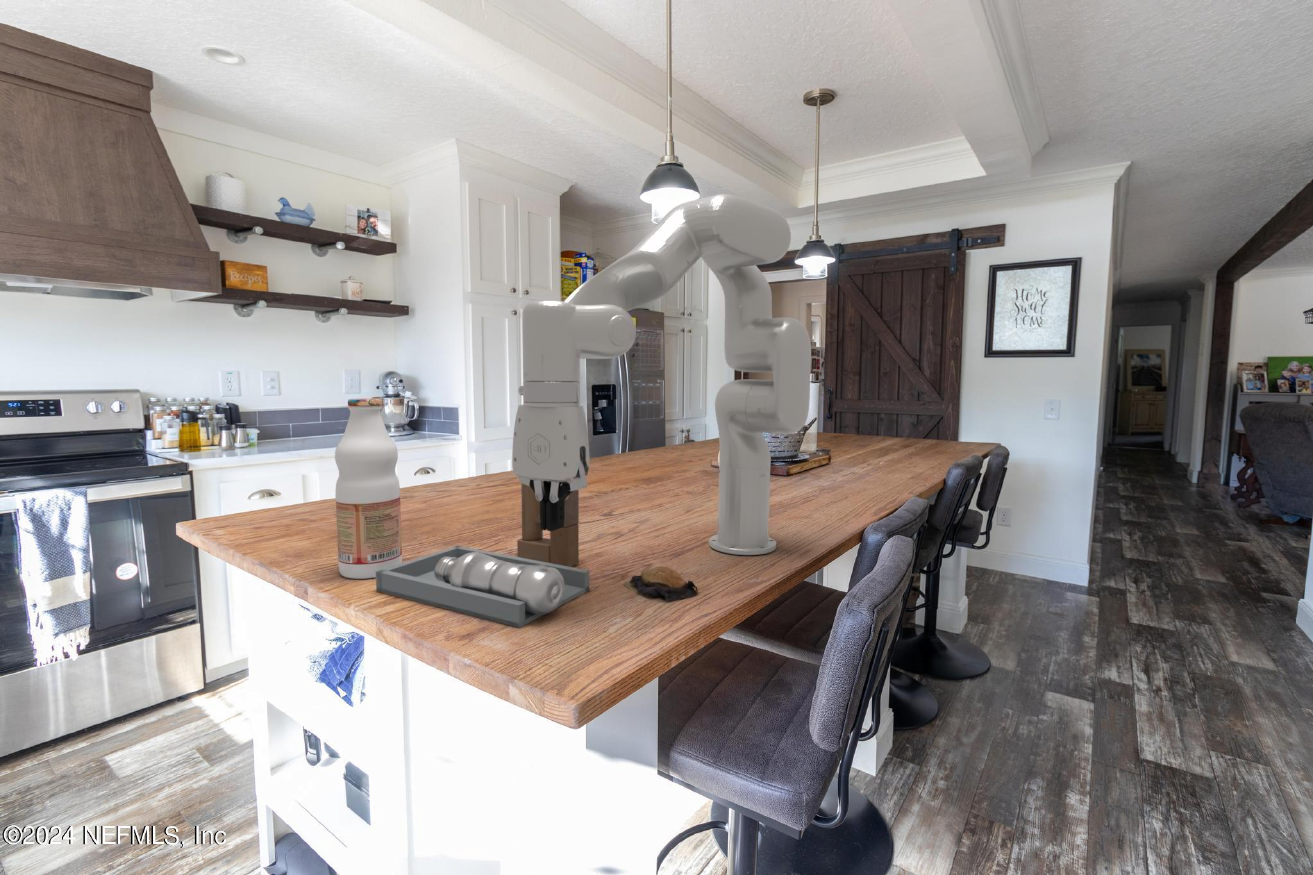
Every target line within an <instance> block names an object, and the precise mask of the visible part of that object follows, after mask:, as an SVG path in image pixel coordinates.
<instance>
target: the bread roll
mask: <svg viewBox="0 0 1313 875" xmlns="http://www.w3.org/2000/svg"><path fill="white" fill-rule="evenodd" d="M623 586H624V587H626V588H627V589H629V590H631V591H633V592H635V593H637V594H638V595H641V596H644V598H645V597H646V598H648V599H650V600H652V601H656V602H658V603H661V604H666V605H667V604H671V603H675V602H678V601H682V600H686V599H687V600H688V599H691V598H694V597H696V596H697V595H698V594H699V590H698V586H696V585H695V583H694V582H693V581H692V580H686V579H685V578H684V577H683V576H682V575H681V574H680V573H679V572H678V571H676V570H675V569H673V568H672V567H671V568H670V567H667V566H663V565H662V566H661V565H659V566H655V567H652V568H648V569H645V570H644V571H642V572H641V574H639V575H633V576H631V578H630V581H627V582H624V583H623Z"/></svg>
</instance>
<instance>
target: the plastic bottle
mask: <svg viewBox="0 0 1313 875" xmlns="http://www.w3.org/2000/svg"><path fill="white" fill-rule="evenodd" d="M434 574H435V577H436V579H437V580H439V581H442V582H445V583H448V584H451V585H452V586H456V587H461V588H465V589H470V590H474V591H478V592H483V593H487V594H491V595H496V596H500V597H504V598H509V599H513V600H517V601H522V602H525V611H527V612H529V613H532V614H544V615H547V614H549V613H551V612H554V611H555V610H556V609H557V608H559V607H558V605H559V604H560V602H561V600H562V597H563V594H564V588H565V584H564V578H563V576H562V575H561V573H560V572H559V571H558V570H557V569H555V568H553V567H551V566H548V565H538V564H537V565H524V564H514V563H509V562H506V561H502V560H498V559H496V558H493V557H490V556H488V555H485V554H482V553H479V552H472V553H467V554H465V555H463V556H461V557H460V558H456V557H443V558H441V559H440V560H439V561H438V562H437V564H436V566H435V570H434Z"/></svg>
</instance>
